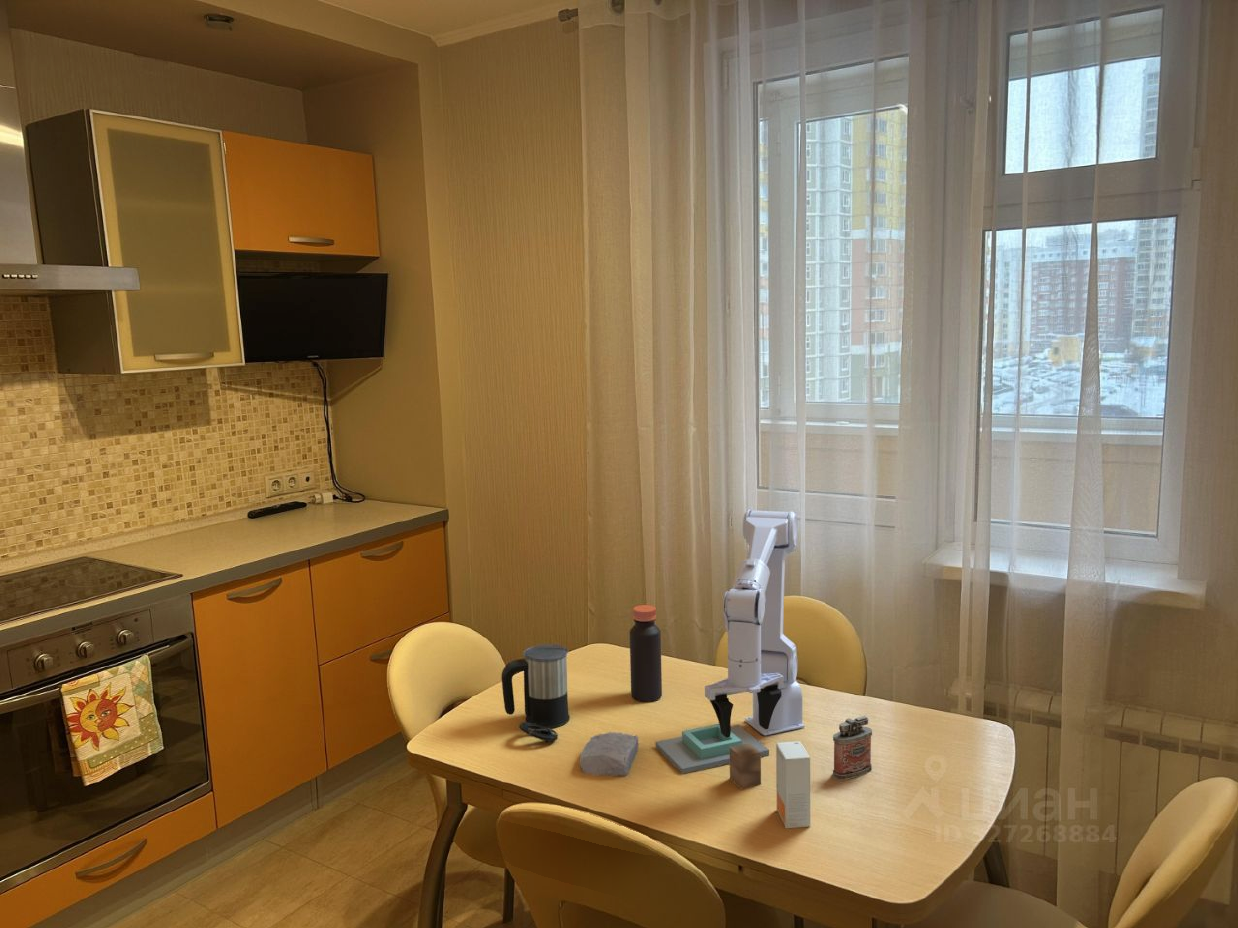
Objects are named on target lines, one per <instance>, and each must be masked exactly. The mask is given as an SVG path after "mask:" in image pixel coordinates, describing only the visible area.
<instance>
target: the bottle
mask: <svg viewBox="0 0 1238 928" xmlns="http://www.w3.org/2000/svg"><path fill="white" fill-rule="evenodd" d="M632 610H633V611H632V612H633V614H632V616H633V622H634V625H633V626H632V627H631V628H630V629H629V657H630V659H629V661H630V664H629V666H630V669H629V670H630V696H631V698H632V699H633V700H635V701H637V702H641V703H651V702H656V701H658V700H660V699H661V697H662V695H663V681H662V679H663V678H662V675H663V674H662V637H661V636H662V633H661V629H660V627H659V626H657V625H656V621H657V620H656V619H657V608H656V606H653V605H649V604H643V605H636V606H634V607H633V608H632Z"/></svg>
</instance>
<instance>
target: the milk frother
mask: <svg viewBox="0 0 1238 928" xmlns="http://www.w3.org/2000/svg"><path fill="white" fill-rule="evenodd" d="M568 653H569V649H568V648H566V647H564V646H561V645H558V644H540V645H534V646H531V647H528V648H526V649H525V650H523V656H524V658H520V659H514V660H512V661H510V662H508V663H507V664H506V665H505V666H504V667H503V669H502V671H501V677H500V678H501V687H502V697H503V704H504V706H503V707H504V710H505V713H506V714H507V715H509V716H510V715H513V714H514V713H515V710H516V708H515V698H514V686H513V677H514V676H515V674H516V673H519V672H523V693H524V695H523V696H524V714H525V722H521V723H520V724H519V725H518V728H519V730H520V731H521V732H523V733H525V734H527V735H528V736H530V737H533V738H535V739H539V740H541V741H543V742H545V743H549V742H554V741H557V739H558V737H559V735H558V732H556V731H555V730H554V728H558V727H562V726H563V725H566V724H568V722H569V721H570V718H571V716H570V714H569V700H568V666H567V665H568V664H567V663H568V662H567V659H568V657H567V656H568Z"/></svg>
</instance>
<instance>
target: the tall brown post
mask: <svg viewBox="0 0 1238 928" xmlns="http://www.w3.org/2000/svg"><path fill="white" fill-rule="evenodd" d="M729 780H731V781H732V783H734V785H736V786H737V787H738V788H739V789H740V790H742V789H747V788H751V787H756V786H759V785H762V757H761V752H760V751H759V750H757V749H756V748H755V747H754V746H753V745H751V744H750V743H747V744H742V745H737V746H733V747H730V764H729Z"/></svg>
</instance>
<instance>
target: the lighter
mask: <svg viewBox="0 0 1238 928" xmlns="http://www.w3.org/2000/svg"><path fill="white" fill-rule="evenodd" d="M868 724H869V718H868V717H867V716H866V715H863V716H860V717H856V718H854V719H853V718H849V717H848V718H846V720H845V721H844V722H841V723H839V724H838V725H839V727H838V730H839V732H836V733H834V734H833V736H832V740H833V769H832V776H833V778H834V779H837V780H839V781H840V780H841V781H844V780H850V779H854V778H857V777H862V776H864V775H865V774H868V773H870V772H872V766H873V765H872V763H871V757H872V753H871V752H872V736H873V729H872V728H871V727H869V726H866V725H868Z"/></svg>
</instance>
